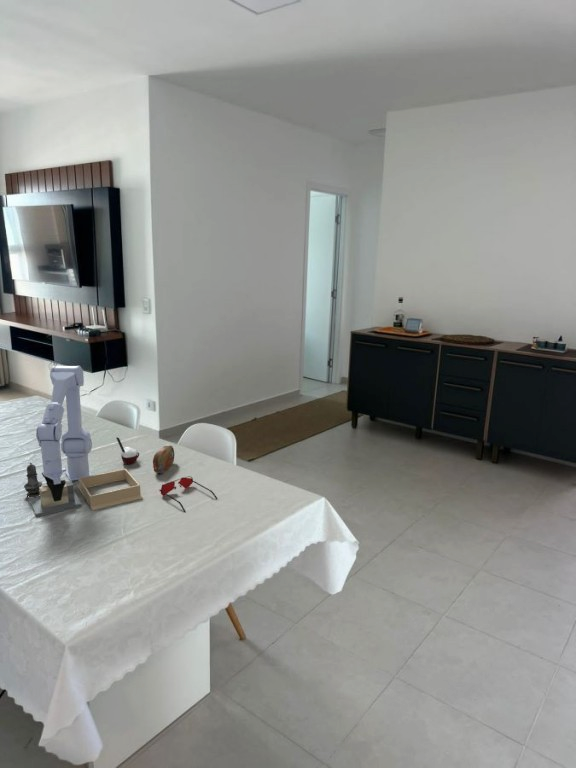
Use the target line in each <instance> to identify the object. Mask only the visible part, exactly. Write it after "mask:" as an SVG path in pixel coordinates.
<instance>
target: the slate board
mask: <svg viewBox="0 0 576 768" xmlns="http://www.w3.org/2000/svg"><path fill="white" fill-rule="evenodd" d="M74 497H75V501H73V502H69V503H64V504H60V505H55V506H51V507H47V508H43V507H42V505H41V499H39V500H34V501H31V502H30V504H31V507H32V510H33V513H34V512H35V513H34V515H35V517H37V516H38V517H41V516H46V515H49V514H53V513H59V512H63V511H66V510H71V509H76V508H81V507H82V503H81V501H80V499H79V497H78V496H77V494H76V492H75V491H74Z"/></svg>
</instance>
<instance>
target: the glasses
mask: <svg viewBox="0 0 576 768" xmlns="http://www.w3.org/2000/svg"><path fill="white" fill-rule="evenodd" d="M193 479H194V478H193V477H192V476H190V475H189V476H188V475H187V476H185V477H183V476H182V477H181V478H179V479H176V480H172V481H170V482H169V481H168V482H167V483H166V482H165V484H162V485H161V488H160V489H159V490H158V491H159V492H160V494H161V495H162V497H164V496H167V497H169V498H170V499H172V500H174V501H175V502H177V503H178V504H179V506H180V507H181V508H182V511H183V512H184V513H186V509H185V508H184V506H183V504H182V503H181V502H180V501H179V500H177V499H176V498H174V497H172V496H171V495H170V494H169V493H170V492H172V491H174V490H177V486H176V485H175V484H176V482H177V481H178V482H177V484H178V485H179V487H180V488H182V487H183V488H184V489H189V488H190V486H191V485H193V483H194V484H196V485H198V486H200V487H201V488H204V489H205V490H207V491H209V492H210V493H211V494H212V495H213V497H214V498H215V499H218V500H219V498H218V497H217V495H216V493H214V492H213V491H212V490H211V489H209V488H207V487H205V486H204V485H202V484H200V483H199V482H196V481H195V480H193Z"/></svg>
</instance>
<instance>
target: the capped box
mask: <svg viewBox="0 0 576 768" xmlns="http://www.w3.org/2000/svg"><path fill="white" fill-rule="evenodd" d="M65 481H66V483H65V485H64V488H63V492H62V498H61V500H60V501H56V502H55V501H54V499H53V496H52V493H51V490H50V488H49V487H48V486H47V485H44V486H43V485H41V486H42V487H39V491H40V496H39V497H40V499H39V500H41V505H42V507H43V508H47V507H51V506H55V505H60V504H64V503H69V502H73V501H75V497H74V492H75V488H74V483H73V481H70V480H65Z"/></svg>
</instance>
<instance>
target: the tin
mask: <svg viewBox="0 0 576 768" xmlns="http://www.w3.org/2000/svg"><path fill="white" fill-rule="evenodd" d="M174 461H175V451H174V447H173V446H172V445H165V446H163V447H161V448H160V449H159V450H158V451H157V452H155V453H154V455H153V458H152V467H153V471H154V473H156V474H164V473H166V471H167V470H169V469H170V468H171V466H173V464H174Z"/></svg>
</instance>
